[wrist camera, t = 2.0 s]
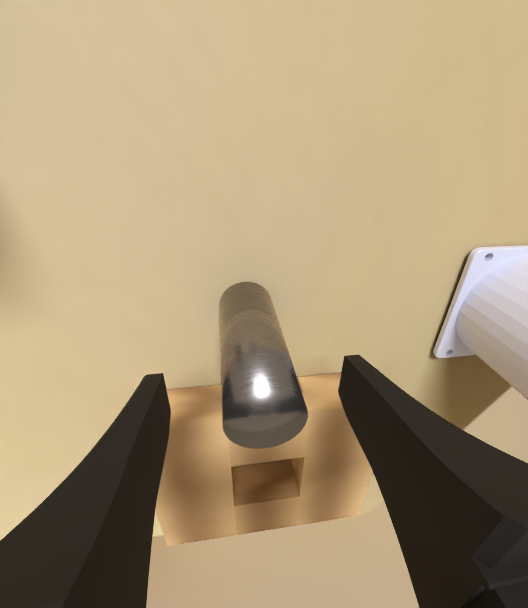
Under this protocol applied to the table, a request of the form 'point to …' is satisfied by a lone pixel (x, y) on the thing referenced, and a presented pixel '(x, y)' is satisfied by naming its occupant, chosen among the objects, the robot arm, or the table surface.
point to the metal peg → (257, 372)
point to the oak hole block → (257, 469)
